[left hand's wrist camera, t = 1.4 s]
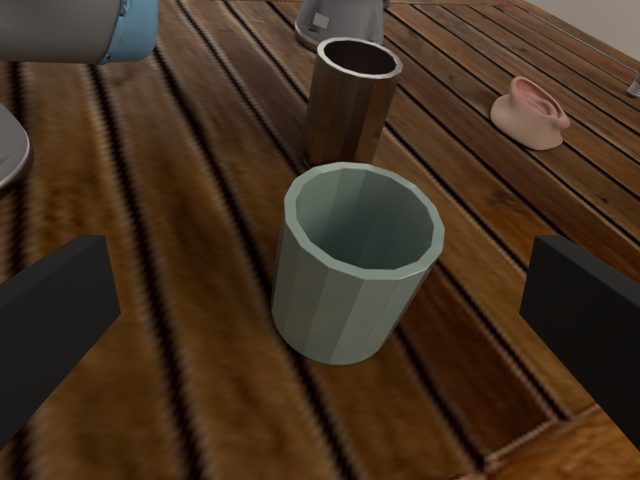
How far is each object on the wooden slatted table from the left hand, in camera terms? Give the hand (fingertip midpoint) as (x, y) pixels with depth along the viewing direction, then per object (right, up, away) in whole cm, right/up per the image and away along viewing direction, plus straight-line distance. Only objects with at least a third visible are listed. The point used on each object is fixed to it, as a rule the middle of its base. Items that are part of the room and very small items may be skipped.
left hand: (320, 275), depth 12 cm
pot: (+1, -4, +21) cm, 21 cm away
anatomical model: (+31, +19, +48) cm, 60 cm away
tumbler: (+2, +10, +34) cm, 36 cm away
